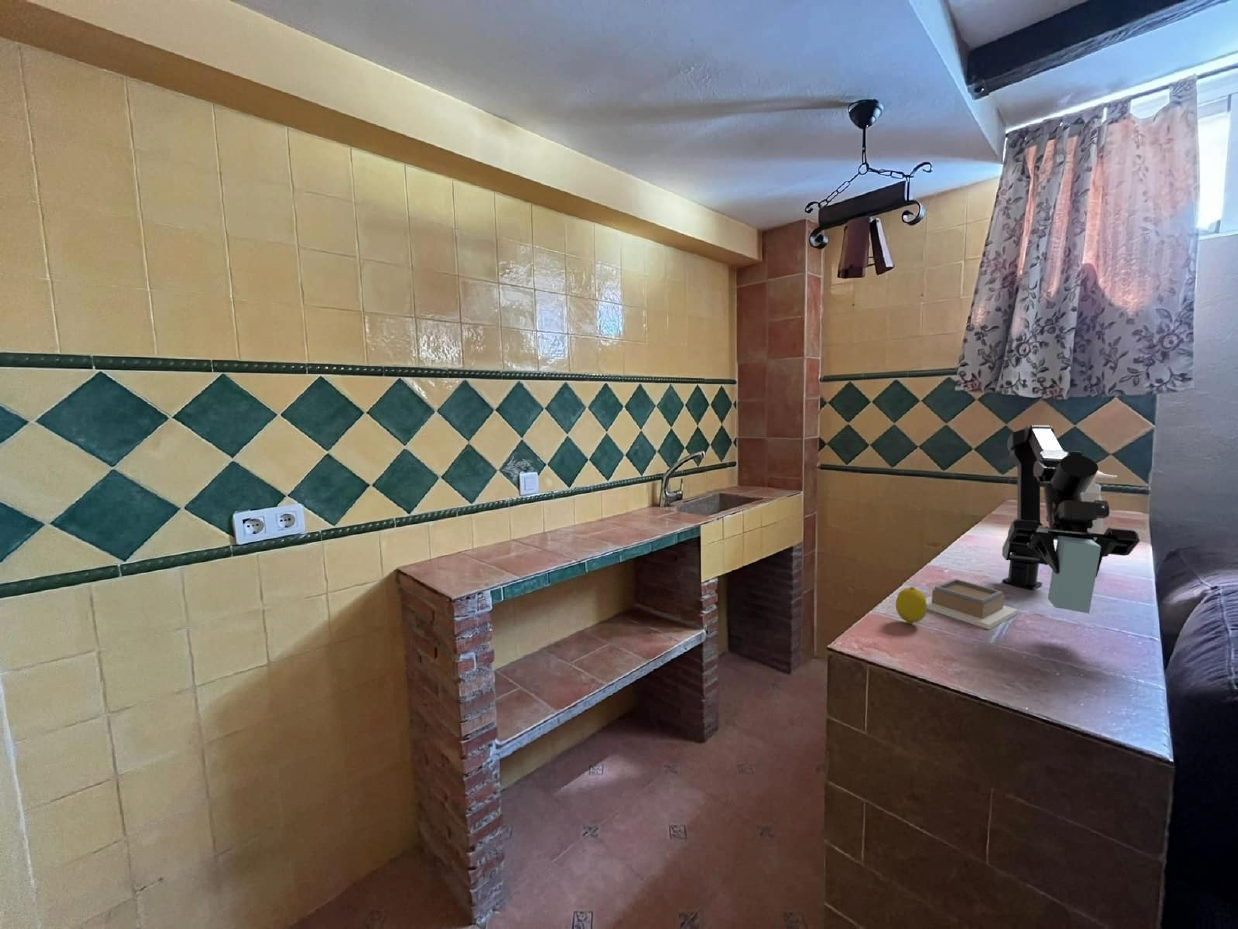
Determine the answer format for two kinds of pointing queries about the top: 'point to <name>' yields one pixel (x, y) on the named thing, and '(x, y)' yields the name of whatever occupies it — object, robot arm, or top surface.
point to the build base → (974, 619)
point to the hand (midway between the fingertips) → (1075, 574)
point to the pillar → (1074, 574)
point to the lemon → (911, 605)
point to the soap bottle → (1092, 495)
